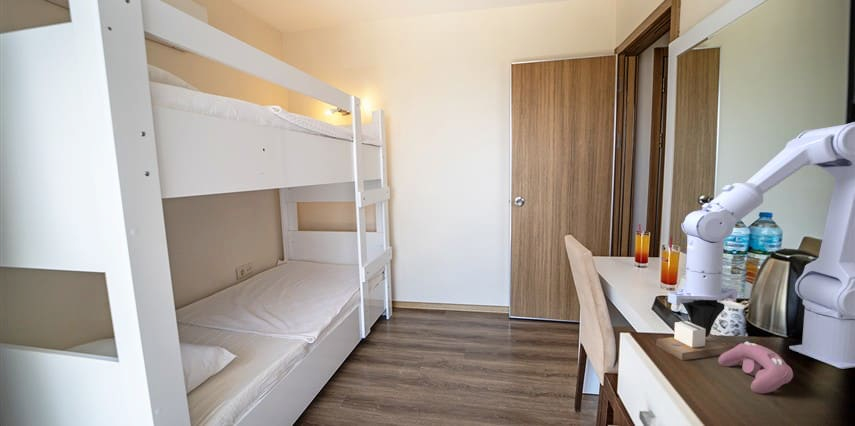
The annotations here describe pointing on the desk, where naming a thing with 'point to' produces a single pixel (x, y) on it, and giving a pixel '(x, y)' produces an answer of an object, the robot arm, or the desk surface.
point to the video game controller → (752, 359)
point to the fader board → (685, 352)
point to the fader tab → (689, 334)
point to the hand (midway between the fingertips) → (700, 334)
